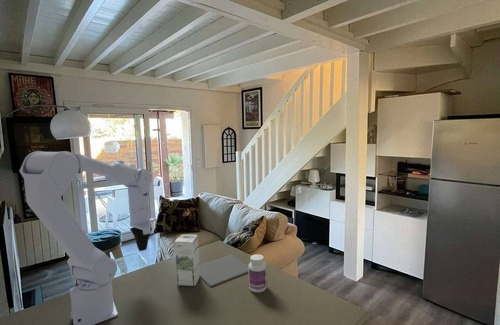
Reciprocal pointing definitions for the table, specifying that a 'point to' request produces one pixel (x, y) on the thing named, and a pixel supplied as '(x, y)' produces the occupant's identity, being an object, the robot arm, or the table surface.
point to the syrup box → (187, 260)
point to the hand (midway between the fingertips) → (142, 249)
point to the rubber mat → (222, 270)
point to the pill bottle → (257, 273)
